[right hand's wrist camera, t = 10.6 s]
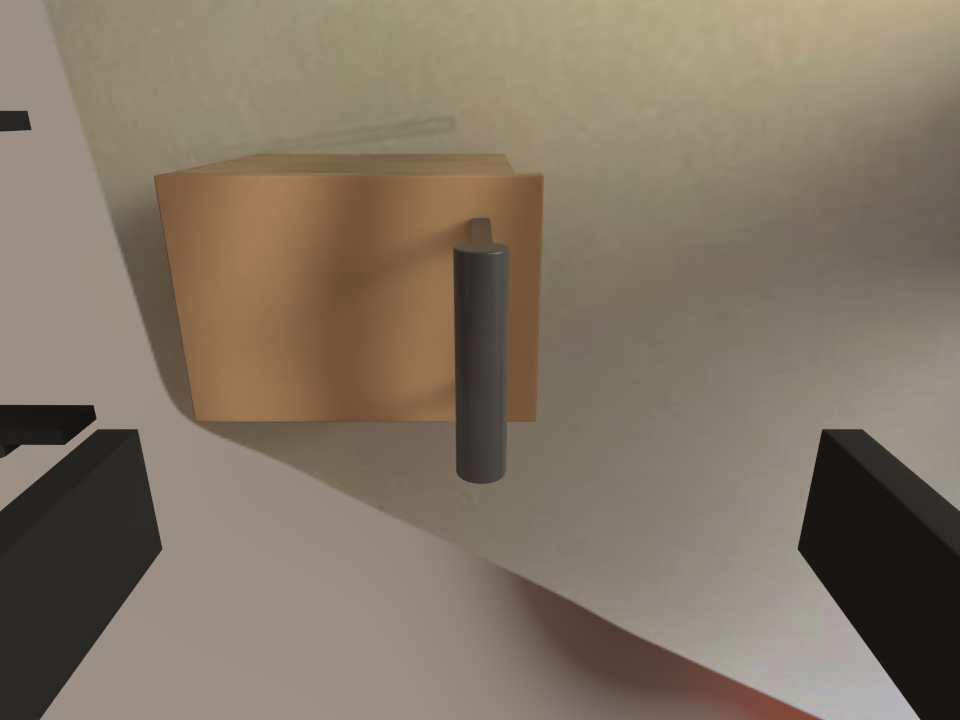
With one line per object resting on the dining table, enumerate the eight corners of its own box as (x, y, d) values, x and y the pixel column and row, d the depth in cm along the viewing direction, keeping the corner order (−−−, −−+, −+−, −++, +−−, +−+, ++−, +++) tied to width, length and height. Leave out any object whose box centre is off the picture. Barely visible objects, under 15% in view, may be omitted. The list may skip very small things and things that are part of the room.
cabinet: (505, 154, 34) (516, 172, 24) (503, 332, 37) (511, 409, 28) (255, 154, 34) (168, 172, 24) (275, 332, 37) (206, 409, 28)
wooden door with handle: (541, 172, 24) (569, 201, 17) (533, 409, 28) (554, 521, 20) (167, 172, 24) (29, 201, 17) (205, 410, 28) (105, 521, 20)
